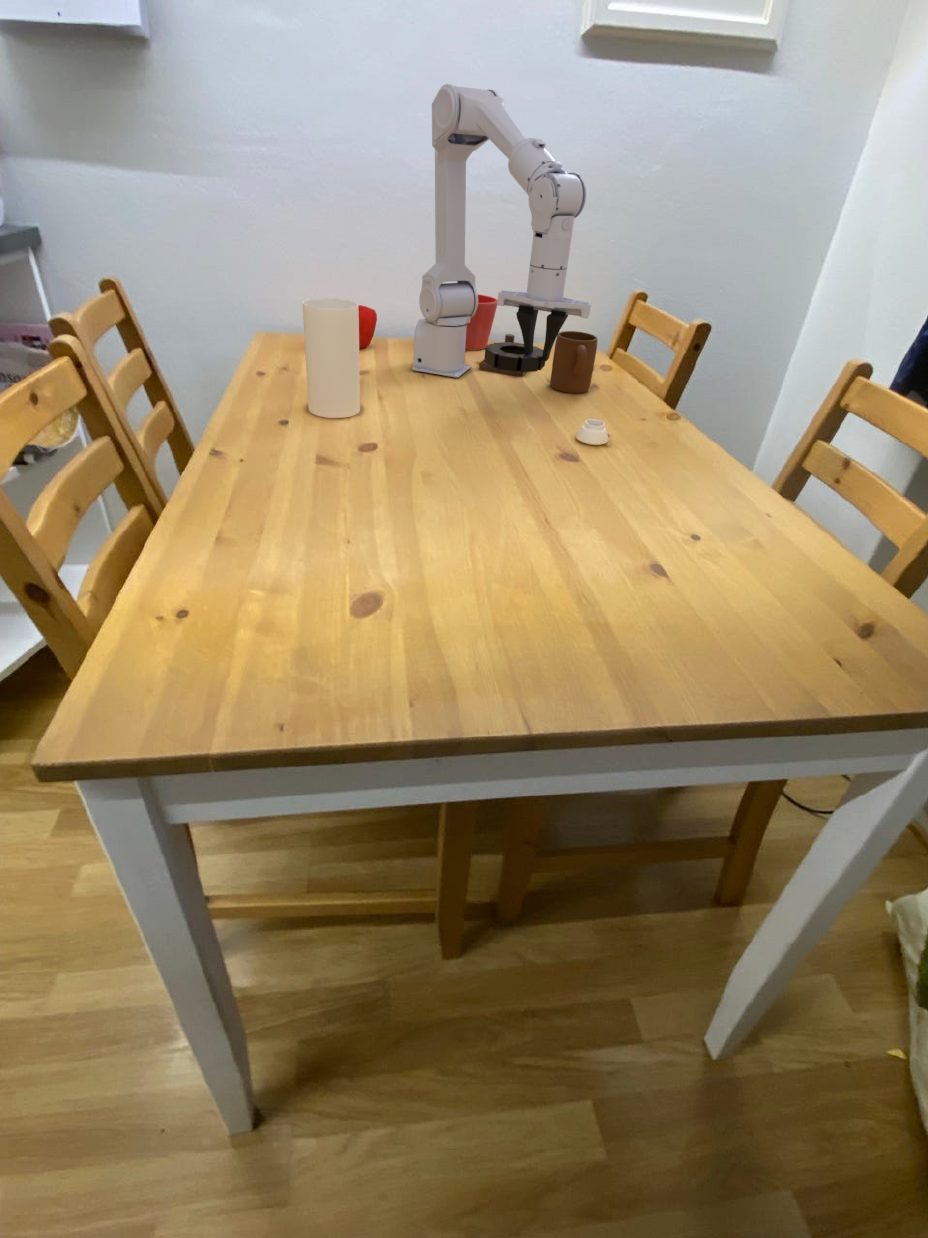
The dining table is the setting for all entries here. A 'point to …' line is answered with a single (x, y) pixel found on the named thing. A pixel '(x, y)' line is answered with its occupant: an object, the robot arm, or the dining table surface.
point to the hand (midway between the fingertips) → (536, 358)
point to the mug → (573, 361)
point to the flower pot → (481, 323)
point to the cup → (332, 356)
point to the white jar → (593, 432)
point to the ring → (513, 357)
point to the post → (488, 368)
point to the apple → (366, 325)
